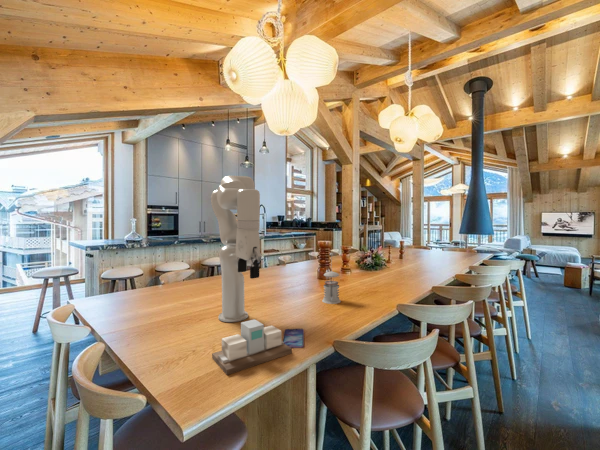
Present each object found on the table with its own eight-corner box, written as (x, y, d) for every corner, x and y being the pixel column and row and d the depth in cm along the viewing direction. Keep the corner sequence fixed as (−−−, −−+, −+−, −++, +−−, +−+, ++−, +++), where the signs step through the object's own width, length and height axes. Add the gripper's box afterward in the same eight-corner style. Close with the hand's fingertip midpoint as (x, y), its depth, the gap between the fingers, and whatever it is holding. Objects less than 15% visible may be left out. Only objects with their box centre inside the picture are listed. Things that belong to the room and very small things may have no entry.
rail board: (212, 358, 92) (211, 336, 92) (272, 340, 105) (272, 321, 105) (226, 375, 82) (226, 351, 82) (291, 353, 95) (291, 332, 95)
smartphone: (281, 346, 99) (284, 328, 114) (281, 349, 99) (284, 331, 114) (303, 346, 99) (303, 328, 114) (303, 348, 99) (303, 330, 114)
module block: (241, 347, 95) (240, 322, 94) (254, 342, 98) (254, 319, 97) (249, 354, 90) (249, 328, 89) (264, 349, 93) (264, 324, 92)
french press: (340, 298, 156) (340, 251, 155) (341, 305, 145) (341, 254, 144) (322, 297, 157) (322, 251, 156) (321, 304, 146) (321, 254, 145)
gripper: (228, 223, 105) (228, 270, 107) (249, 228, 91) (249, 282, 93) (247, 223, 109) (247, 268, 111) (270, 227, 95) (270, 279, 97)
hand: (248, 274), depth 102 cm, fingers open, 9 cm apart
